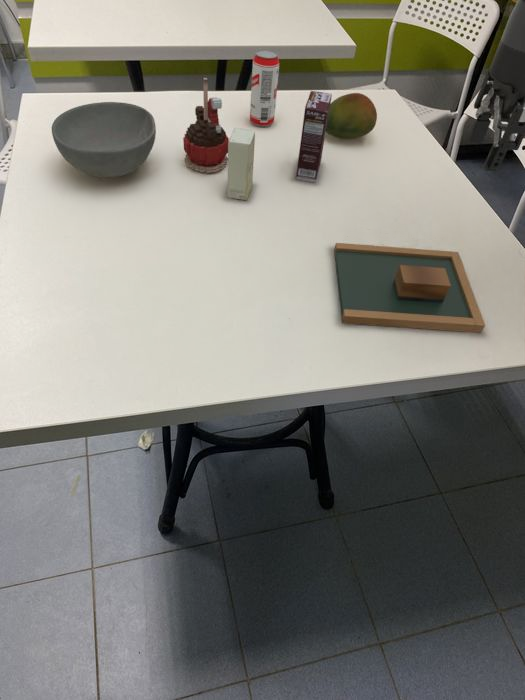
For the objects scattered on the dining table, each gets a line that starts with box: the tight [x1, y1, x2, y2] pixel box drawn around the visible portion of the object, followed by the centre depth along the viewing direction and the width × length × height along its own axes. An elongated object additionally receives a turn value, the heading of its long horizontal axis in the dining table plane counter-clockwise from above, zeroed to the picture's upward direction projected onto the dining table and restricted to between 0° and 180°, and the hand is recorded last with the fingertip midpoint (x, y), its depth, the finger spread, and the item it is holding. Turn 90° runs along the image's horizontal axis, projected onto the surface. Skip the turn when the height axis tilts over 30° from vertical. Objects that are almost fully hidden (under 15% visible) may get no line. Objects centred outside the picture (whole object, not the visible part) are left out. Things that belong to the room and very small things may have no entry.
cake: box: [182, 77, 230, 173], centre depth 104 cm, size 11×9×18 cm
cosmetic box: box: [226, 127, 256, 201], centre depth 100 cm, size 6×4×12 cm
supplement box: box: [295, 90, 333, 183], centre depth 106 cm, size 9×5×16 cm, turn 168°
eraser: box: [394, 265, 451, 303], centre depth 85 cm, size 8×4×4 cm, turn 89°
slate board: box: [333, 242, 486, 333], centre depth 88 cm, size 24×19×2 cm
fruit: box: [326, 92, 378, 140], centre depth 120 cm, size 12×12×10 cm
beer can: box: [249, 48, 280, 128], centre depth 119 cm, size 6×6×16 cm
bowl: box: [51, 101, 157, 178], centre depth 103 cm, size 20×20×10 cm
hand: (482, 155), depth 78 cm, fingers open, 8 cm apart
